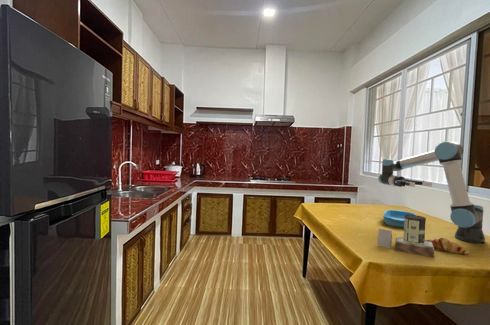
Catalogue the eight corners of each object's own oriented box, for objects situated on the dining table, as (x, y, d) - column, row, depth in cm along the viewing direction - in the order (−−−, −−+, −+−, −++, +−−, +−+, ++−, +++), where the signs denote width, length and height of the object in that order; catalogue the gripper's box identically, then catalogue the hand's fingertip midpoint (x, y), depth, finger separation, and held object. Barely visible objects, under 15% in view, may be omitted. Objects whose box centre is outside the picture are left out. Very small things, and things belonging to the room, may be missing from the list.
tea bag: (390, 248, 152) (391, 231, 152) (377, 245, 156) (378, 229, 156) (391, 247, 155) (392, 230, 155) (378, 244, 159) (379, 227, 159)
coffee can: (419, 239, 154) (420, 215, 153) (428, 245, 144) (429, 219, 143) (400, 237, 156) (401, 213, 155) (407, 243, 146) (408, 218, 145)
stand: (431, 250, 150) (432, 241, 150) (433, 257, 141) (434, 247, 141) (395, 244, 159) (395, 235, 159) (394, 250, 150) (395, 241, 150)
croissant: (469, 260, 147) (471, 246, 149) (468, 256, 141) (470, 241, 143) (424, 248, 162) (426, 236, 164) (421, 244, 156) (423, 231, 158)
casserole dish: (415, 231, 189) (416, 221, 189) (380, 225, 202) (381, 216, 201) (416, 220, 220) (417, 212, 219) (386, 216, 232) (386, 208, 232)
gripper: (411, 186, 195) (438, 190, 175) (382, 186, 190) (406, 190, 169) (411, 175, 195) (438, 178, 174) (382, 175, 189) (407, 178, 169)
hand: (423, 184), depth 172 cm, fingers open, 13 cm apart
